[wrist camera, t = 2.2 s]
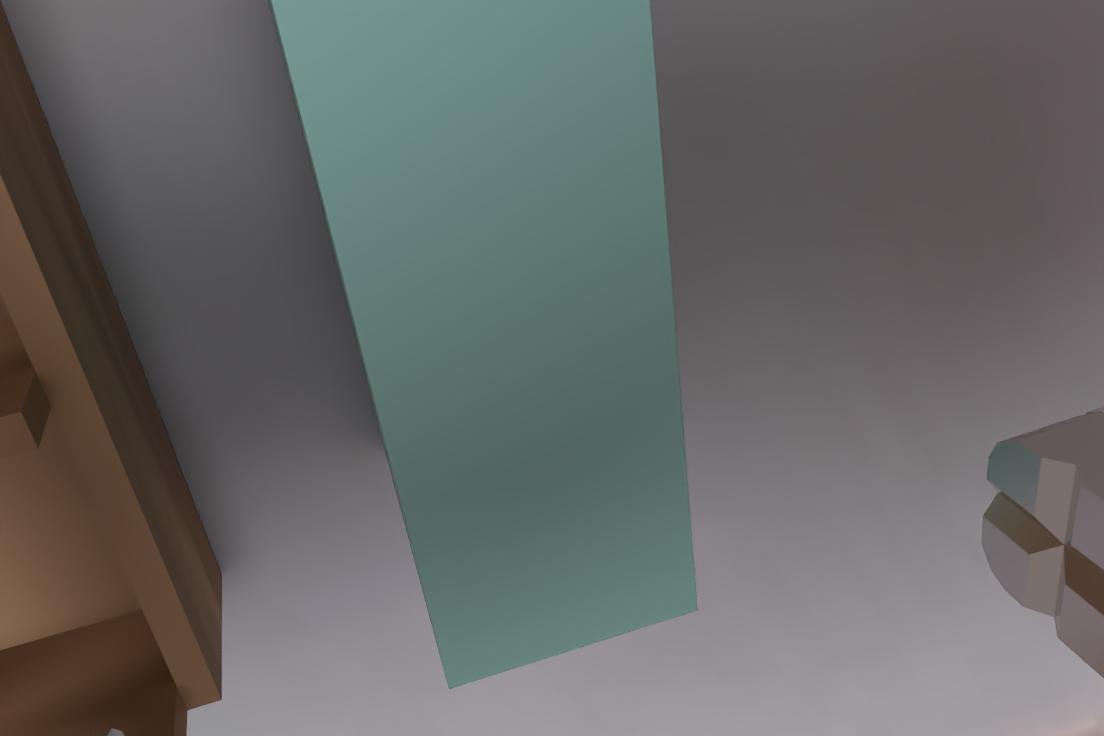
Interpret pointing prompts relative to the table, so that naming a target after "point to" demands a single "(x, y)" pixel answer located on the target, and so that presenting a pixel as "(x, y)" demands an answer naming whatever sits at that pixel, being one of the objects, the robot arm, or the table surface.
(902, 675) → the table surface
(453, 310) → the teal block
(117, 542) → the rack
